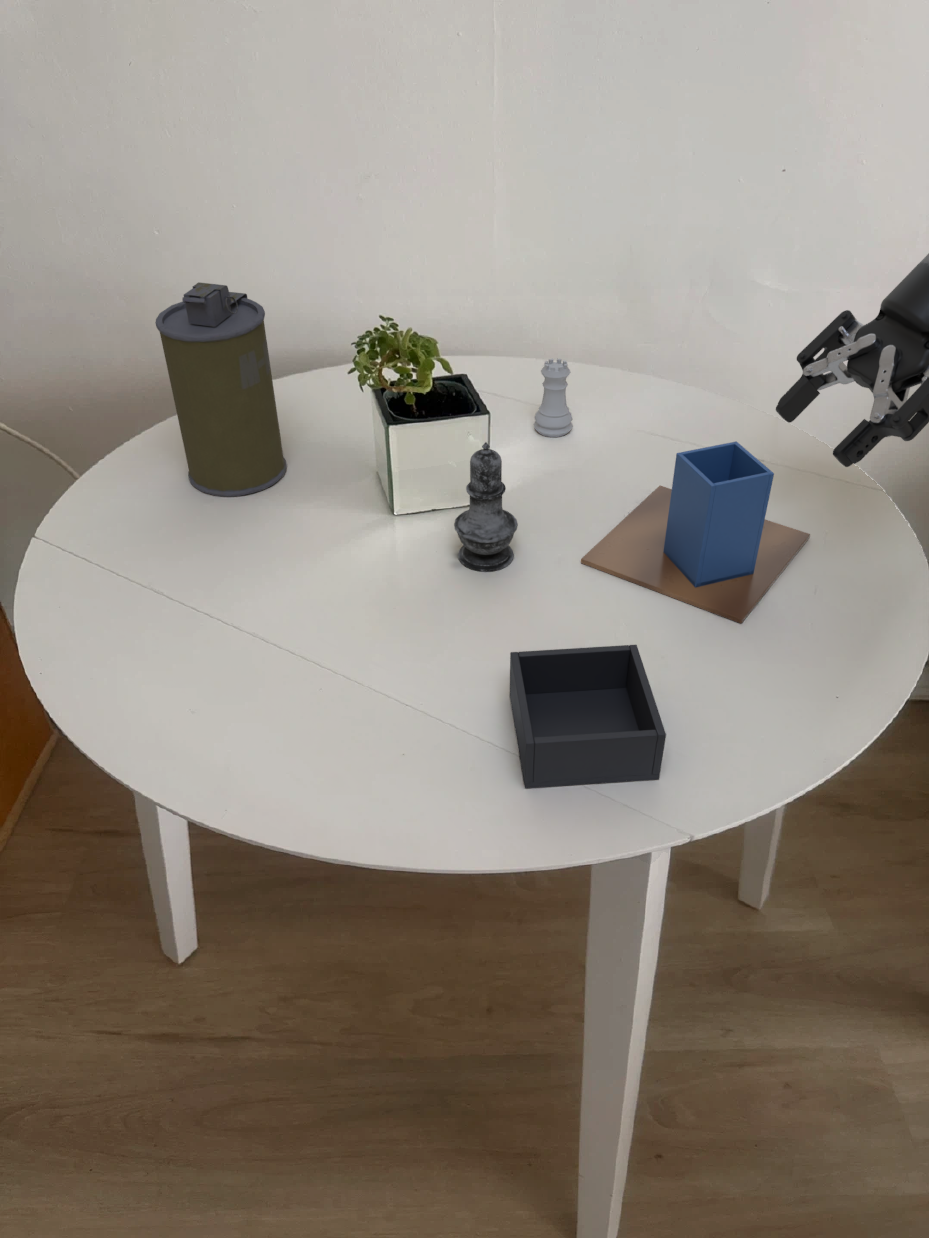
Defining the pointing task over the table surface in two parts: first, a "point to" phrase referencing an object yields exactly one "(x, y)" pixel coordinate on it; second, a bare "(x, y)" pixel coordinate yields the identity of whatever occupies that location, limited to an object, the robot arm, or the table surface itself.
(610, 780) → the black bin
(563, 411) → the rook chess piece
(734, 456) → the blue bin
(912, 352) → the robot arm
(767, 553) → the cork mat
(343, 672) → the table surface
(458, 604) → the table surface
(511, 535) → the dark grey tall piece
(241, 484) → the canister
